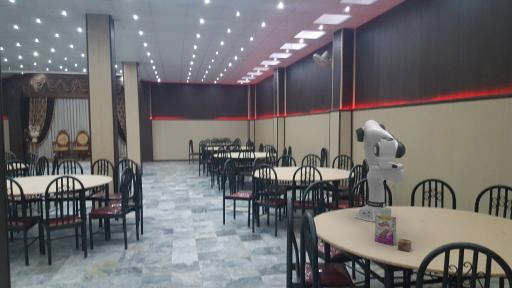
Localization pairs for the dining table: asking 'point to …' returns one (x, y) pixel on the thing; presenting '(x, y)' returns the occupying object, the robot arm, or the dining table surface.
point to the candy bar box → (385, 229)
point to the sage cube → (385, 212)
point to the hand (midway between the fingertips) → (386, 187)
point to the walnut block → (404, 245)
